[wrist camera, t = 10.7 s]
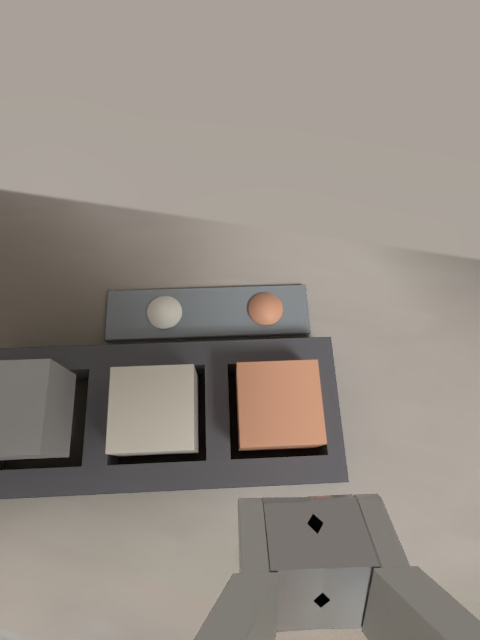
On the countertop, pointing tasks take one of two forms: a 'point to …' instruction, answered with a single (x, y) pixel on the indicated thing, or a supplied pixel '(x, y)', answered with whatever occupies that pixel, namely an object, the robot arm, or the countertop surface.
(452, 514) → the countertop surface
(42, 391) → the grey key
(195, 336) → the card
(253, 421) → the terracotta key
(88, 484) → the keyguard frame
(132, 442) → the cream key
